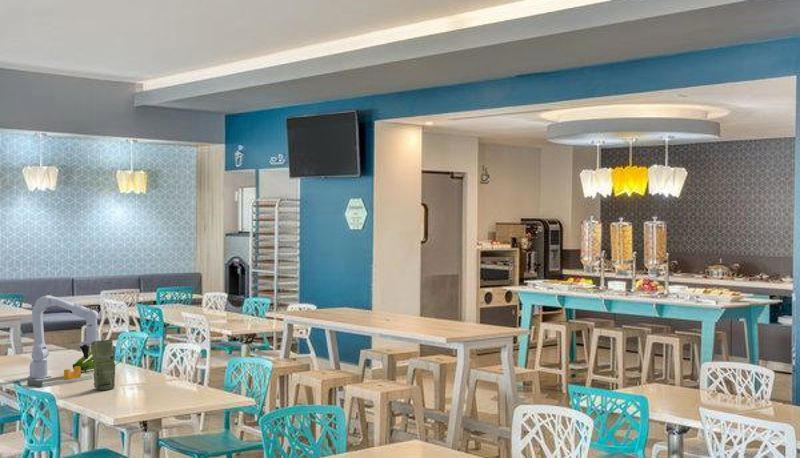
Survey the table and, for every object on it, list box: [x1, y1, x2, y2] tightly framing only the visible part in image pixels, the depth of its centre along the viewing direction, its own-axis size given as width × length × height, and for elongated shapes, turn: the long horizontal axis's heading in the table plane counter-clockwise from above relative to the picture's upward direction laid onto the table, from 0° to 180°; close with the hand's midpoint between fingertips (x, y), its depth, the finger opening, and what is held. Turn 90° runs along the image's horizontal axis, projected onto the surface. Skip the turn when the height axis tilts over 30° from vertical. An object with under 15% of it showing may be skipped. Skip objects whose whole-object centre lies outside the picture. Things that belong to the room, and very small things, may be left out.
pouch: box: [90, 337, 116, 391], centre depth 460 cm, size 11×12×25 cm
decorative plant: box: [72, 343, 129, 372], centre depth 520 cm, size 18×30×15 cm, turn 104°
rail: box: [26, 374, 93, 388], centre depth 482 cm, size 12×30×3 cm, turn 144°
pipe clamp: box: [63, 366, 82, 380], centre depth 487 cm, size 12×4×6 cm, turn 169°
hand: (92, 357), depth 498 cm, fingers open, 7 cm apart
